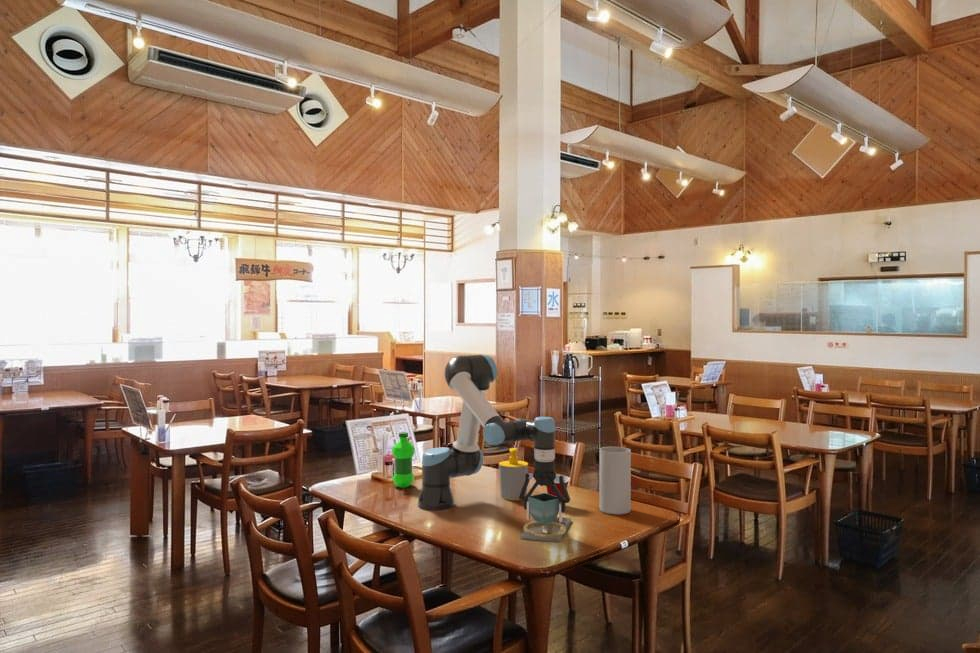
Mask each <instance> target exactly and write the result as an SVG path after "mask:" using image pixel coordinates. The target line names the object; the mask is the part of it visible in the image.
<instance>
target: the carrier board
mask: <svg viewBox="0 0 980 653" xmlns="http://www.w3.org/2000/svg"><path fill="white" fill-rule="evenodd" d="M571 522H572V518H571V517H563V516H562V522H559V516H557V517H556V519H555V520H554V521H553V522H550V523H546V524H542V523H540V522H537V521H535V520H534V519H533V518H532V520H531V521H530V522H528V523H527V522H526V523H525V524H524V526H523V527H522V530H523V531H522V533H521V534H520V539H521V540H528V541H529V540H530V541H531V540H532V541H538V542H539V541H541V542H550V543H561V541H562V539H563V538H564V535H565V533H566V532H567V530H568V528H569V526H570V524H571Z"/></svg>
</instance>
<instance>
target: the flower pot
mask: <svg viewBox="0 0 980 653" xmlns="http://www.w3.org/2000/svg"><path fill="white" fill-rule="evenodd" d="M528 501H529V509H530V516H531V518H532V519H534V520H535V521H537V522H540V523H542V524H546V523H550V522H553V521H554V520H555V519H556V517H558V516H559V504H560V501H559V499H558V497H556V496H553V495H550V494H547V492H544V493H543V492H542V493H539V494H534V495H531V496H530V497H528Z"/></svg>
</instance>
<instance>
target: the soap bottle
mask: <svg viewBox="0 0 980 653" xmlns="http://www.w3.org/2000/svg"><path fill="white" fill-rule="evenodd" d="M508 450H509V453H510V456H509V457H508V460H504V461H500V462H498V471H499V472H498V474H499V493H500V498H501V499H502V500H508V501H521V500H522V499H519V496H520V493H521V491H522V488H523V485H524V482H525V475H526V474H527V473H528V472H529V463H528V462H527V461H523V460H519V456H517V451H518V450H519V449H518V448H517V447H510V448H509V449H508ZM527 491H528V488H527V489H526V492H525V494H524V496H526V495H527V494H528V492H527Z"/></svg>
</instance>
